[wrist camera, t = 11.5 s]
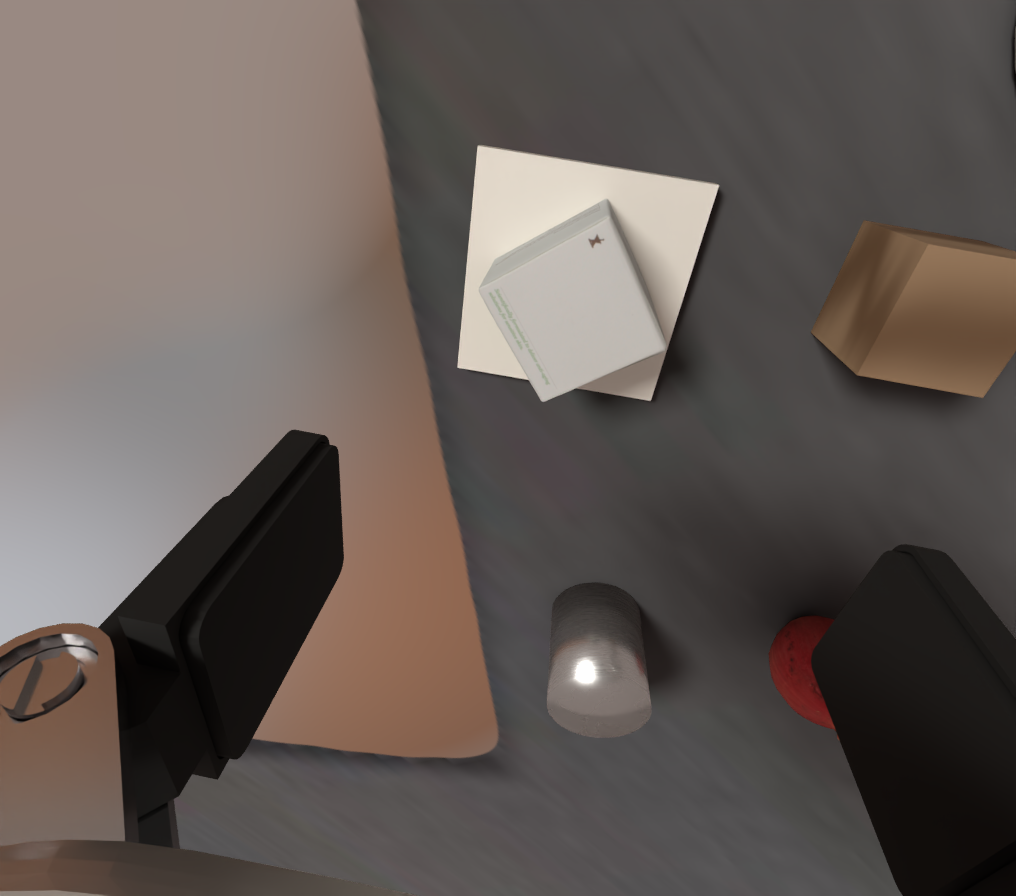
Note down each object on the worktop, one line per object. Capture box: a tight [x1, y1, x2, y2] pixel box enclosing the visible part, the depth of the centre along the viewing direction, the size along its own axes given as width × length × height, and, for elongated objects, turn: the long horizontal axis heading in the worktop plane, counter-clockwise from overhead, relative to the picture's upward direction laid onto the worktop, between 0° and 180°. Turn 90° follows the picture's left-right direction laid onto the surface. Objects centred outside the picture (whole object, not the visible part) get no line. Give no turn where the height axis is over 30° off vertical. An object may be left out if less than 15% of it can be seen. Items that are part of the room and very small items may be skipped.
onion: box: [769, 616, 839, 740], centre depth 32 cm, size 6×6×8 cm
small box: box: [479, 199, 667, 402], centre depth 22 cm, size 6×6×5 cm
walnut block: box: [811, 221, 1016, 398], centre depth 22 cm, size 5×5×5 cm
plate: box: [457, 145, 719, 401], centre depth 25 cm, size 10×10×1 cm
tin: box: [547, 583, 651, 738], centre depth 34 cm, size 6×6×7 cm
